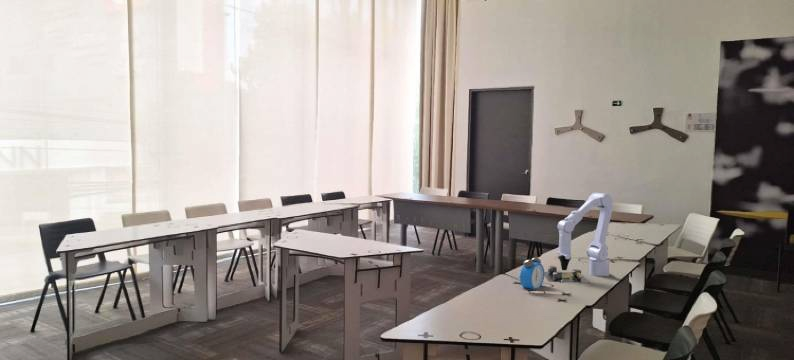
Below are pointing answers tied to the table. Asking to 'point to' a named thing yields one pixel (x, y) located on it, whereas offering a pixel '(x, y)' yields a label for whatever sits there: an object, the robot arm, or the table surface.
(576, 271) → the knob
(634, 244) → the table surface
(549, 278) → the dark grey square plate
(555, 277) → the knob
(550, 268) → the knob
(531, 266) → the alarm clock
